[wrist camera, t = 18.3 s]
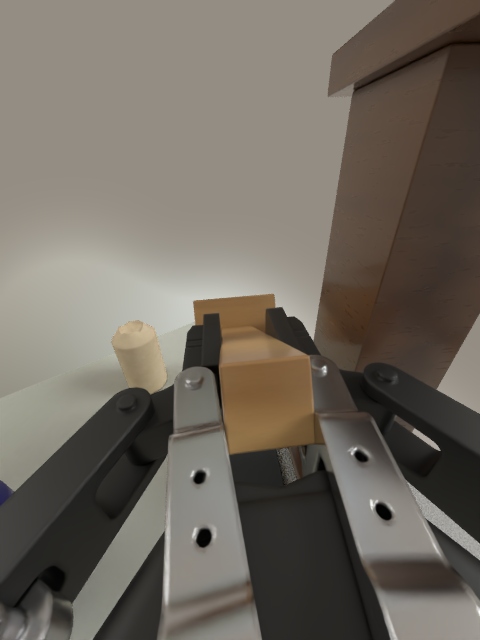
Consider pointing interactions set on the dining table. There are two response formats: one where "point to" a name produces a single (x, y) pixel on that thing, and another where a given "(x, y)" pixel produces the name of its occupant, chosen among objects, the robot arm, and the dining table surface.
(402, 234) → the stand
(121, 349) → the candle
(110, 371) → the dining table surface
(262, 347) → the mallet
